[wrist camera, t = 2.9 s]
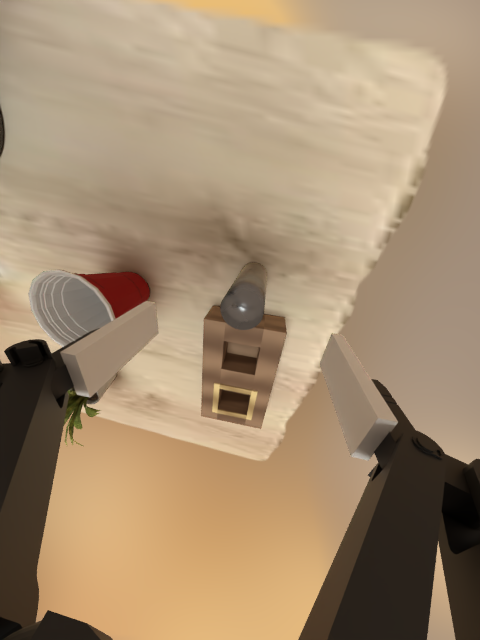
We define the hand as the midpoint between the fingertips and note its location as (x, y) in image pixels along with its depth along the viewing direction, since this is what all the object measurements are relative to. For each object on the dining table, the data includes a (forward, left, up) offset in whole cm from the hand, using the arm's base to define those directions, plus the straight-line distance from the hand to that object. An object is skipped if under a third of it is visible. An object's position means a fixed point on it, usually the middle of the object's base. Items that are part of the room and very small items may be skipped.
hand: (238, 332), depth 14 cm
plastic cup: (+5, -20, -17) cm, 27 cm away
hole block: (+17, 0, -17) cm, 24 cm away
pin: (0, 0, -17) cm, 17 cm away
